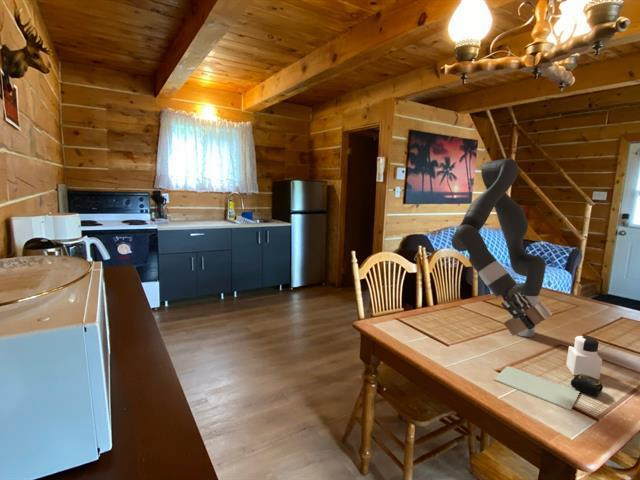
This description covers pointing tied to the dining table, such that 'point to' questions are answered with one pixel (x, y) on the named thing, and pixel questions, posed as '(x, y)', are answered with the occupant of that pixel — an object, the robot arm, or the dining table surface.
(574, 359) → the medicine bottle
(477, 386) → the dining table surface
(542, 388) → the sage mat
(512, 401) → the dining table surface
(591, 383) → the tape measure
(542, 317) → the walnut block
